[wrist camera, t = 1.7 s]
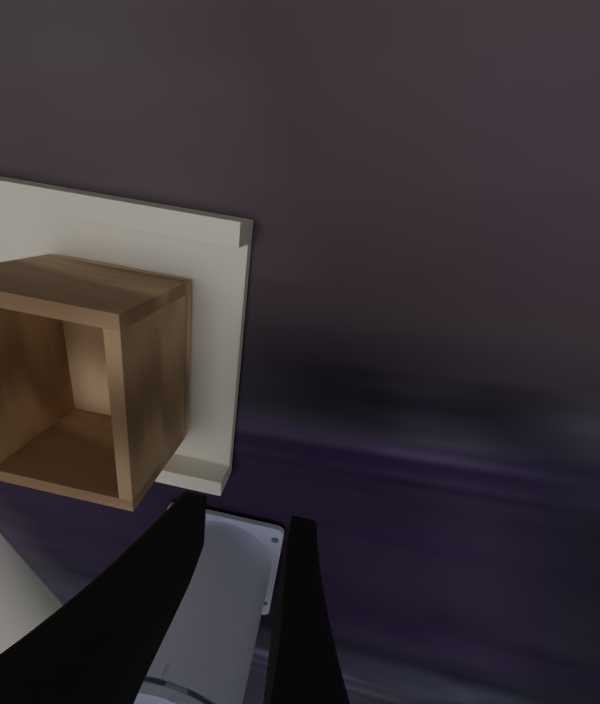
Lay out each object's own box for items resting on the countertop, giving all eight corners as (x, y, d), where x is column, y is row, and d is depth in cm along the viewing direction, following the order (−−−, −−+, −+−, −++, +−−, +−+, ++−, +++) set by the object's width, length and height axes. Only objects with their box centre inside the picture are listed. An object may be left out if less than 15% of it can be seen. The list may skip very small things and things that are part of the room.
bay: (231, 471, 22) (220, 496, 20) (-60, 407, 23) (-95, 425, 21) (253, 219, 15) (240, 222, 14) (-147, 150, 17) (-208, 144, 15)
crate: (188, 433, 20) (133, 511, 15) (74, 408, 20) (-17, 476, 15) (190, 279, 16) (119, 314, 11) (51, 253, 16) (-80, 275, 12)
